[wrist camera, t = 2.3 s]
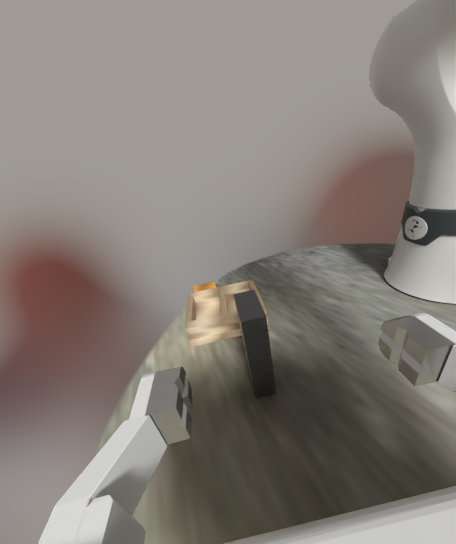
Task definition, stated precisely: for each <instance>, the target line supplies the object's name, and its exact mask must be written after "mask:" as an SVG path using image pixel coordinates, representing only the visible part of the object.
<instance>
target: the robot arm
mask: <svg viewBox="0 0 456 544" xmlns="http://www.w3.org/2000/svg"><path fill="white" fill-rule="evenodd" d="M369 80H370V86H371V89H372V92H373V94H374V96H375V98H376V99H377V100H378V101H379V102H380V103H381V104H382V105H384V106H386V107H388V108H390V109H391V110H393V111H394V112H396V113H397V114H398V115H399V116H400V117H401V118H402V119H403V120H404V122H405V123H406V124H407V126H408V128H409V130H410V132H411V134H412V137H413V141H414V146H415V166H414V176H413V183H412V189H411V194H410V199H409V201H408V202H406V204H405V208H404V211H403V217H402V229H401V230H400V233H399V236H398V239H397V242H396V245H395V248H394V251H393V254H392V256H391V257H389V259H388V266H387V268H386V270H385V272H384V278H385V280H386V281H387V282H388V283H389V284H390V285H391V286H393V287H394V288H396V289H398V290H400V291H402V292H404V293H407V294H409V295H412V296H415V297H418V298H422V299H426V300H431V301H436V302H443V303H452V304H456V0H417V1H416V2H414V3H413V4H412V5H410V6H409V7H407V8H406V9H404V10H403V11H402V12H400V13H399V14H398V15H396V16H395V17H393V18H392V20H391V21H390V22H389V24H388V25H387V27H386V28H385V30H384V32H383V33H382V35H381V37H380V39H379V41H378V43H377V45H376V48H375V50H374V53H373V56H372V60H371V64H370V73H369ZM381 330H382V331H383V333H382V335H381V336H380V337H379V342H378V344H379V347H380V350H381V352H382V353H383V355H384V356H385V357H386V358H387V359H388V360H389V361H391V362H393V363H395V364H397V365H398V369H399V371H400V372H401V373H402V374H403V375H404V376H405V377H406V378H407V379H408V380H409V381H410V382H411V383H412V384H413V385H414V386H418V385H423V384H428V383H433V382H438V383H439V384H441V385H443V386H444V387H446V388H448V389H450V390H452V391H454V392H456V331H454V330H453V329H451V328H449V327H448V326H446V325H444V324H443V323H441V322H440V321H438V320H436V319H435V318H433V317H432V316H430V315H428V314H426V313H418V314H413V315H409V316H404V317H400V318H396V319H391V320H387V321H384V322H383V323H382V325H381ZM185 374H186V372H185V370H184V368H183V367H178V368H173V369H168V370H163V371H158V372H154V373H149V374H144V375H143V376H142V378H141V380H140V383H139V387H138V390H137V393H136V397H135V400H134V403H133V407H132V410H131V414H130V417H129V420H125V421H124V422H123V423H122V424H121V426H120V427H119V428H118V429H117V430H116V432H115V433H114V434H113V435H112V437H111V438H110V439H109V440H108V441H107V443H106V444H105V445H104V446H103V448H102V449H101V450H100V451H99V452H98V454H97V455H96V456H95V457H94V459H93V460H92V461H91V462H90V463H89V465H88V466H87V467H86V468H85V470H84V471H83V472H82V473H81V475H80V476H79V477H78V478H77V479H76V481H75V482H74V483H73V484H72V486H71V487H70V488H69V489H68V490H67V492H66V493H65V494H64V495H63V497H62V498H61V499H60V500H59V501H58V503H57V504H56V505H55V507H54V509H53V511H52V513H51V516H50V518H49V520H48V523H47V525H46V527H45V530H44V532H43V534H42V536H41V538H40V541H39V543H38V544H144V540H145V533H146V532H145V530H144V528H143V526H142V525H141V524H140V523H139V522H138V521H137V520H135V519H134V518H133V517H132V514H133V513H134V511H135V509H136V507H137V505H138V503H139V501H140V499H141V497H142V495H143V493H144V491H145V489H146V487H147V485H148V483H149V481H150V479H151V477H152V475H153V473H154V471H155V470H156V468H157V466H158V464H159V462H160V460H161V458H162V456H163V454H164V452H165V450H166V448H167V444H171V443H175V442H179V441H182V440H186V439H190V438H191V416H190V414H189V410H190V408H191V407H192V391H191V386H190V383H189V380H187V379H185ZM223 544H456V486H453V487H449V488H445V489H441V490H437V491H433V492H429V493H425V494H421V495H417V496H413V497H409V498H405V499H400V500H396V501H392V502H388V503H384V504H380V505H376V506H372V507H368V508H364V509H360V510H356V511H352V512H348V513H344V514H340V515H336V516H332V517H328V518H324V519H320V520H316V521H312V522H308V523H304V524H300V525H296V526H292V527H288V528H284V529H280V530H276V531H272V532H267V533H263V534H259V535H255V536H251V537H247V538H243V539H239V540H235V541H231V542H227V543H223Z"/></svg>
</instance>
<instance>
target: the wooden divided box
mask: <svg viewBox="0 0 456 544" xmlns="http://www.w3.org/2000/svg"><path fill="white" fill-rule="evenodd" d="M250 290H255V292H256V295H257V297H258V299H259V301H260V303H261V306H262V308H263V310H264V312H265V315H266V318H267V311H266V307H265V305H264V303H263V301H262V299H261V296H260V294H259V292H258V290H257V288H256V286H255V284H254V282H253V280H248V281H243V282H239V283H234V284H230V285H225V286H221V287H216V284H215V281H214V282H210V283H205V284H201V285H196V286H194V291H195V292H194V293H189V294H188V301H187V311H186V321H185V328H186V331H187V334H188V336H189V345H190V347H194V346H198V345H203V344H207V343H211V342H216V341H220V340H225V339H229V338H233V337H238V336H242V334H241V329H240V324H239V320H238V315H237V310H236V305H235V300H234V295H233V294H236V293H241V292H245V291H250ZM267 326H268V330H269V329H270V325H269V322H268V319H267Z"/></svg>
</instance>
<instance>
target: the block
mask: <svg viewBox="0 0 456 544" xmlns="http://www.w3.org/2000/svg"><path fill="white" fill-rule="evenodd" d="M233 295H234V300H235V305H236V310H237V315H238V320H239V324H240V329H241V334H242V339H243V344H244V349H245V354H246V359H247V364H248V368H249V372H250V376H251V380H252V384H253V388H254V393H255V397H256V398H261V397H265V396H269V395H273V394H276V389H275V381H274V373H273V365H272V358H271V350H270V342H269V334H268V326H267V318H266V315H265V312H264V310H263V308H262V306H261V303H260V301H259V299H258V297H257V295H256V292H255V290H250V291H245V292H241V293H236V294H233Z"/></svg>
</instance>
